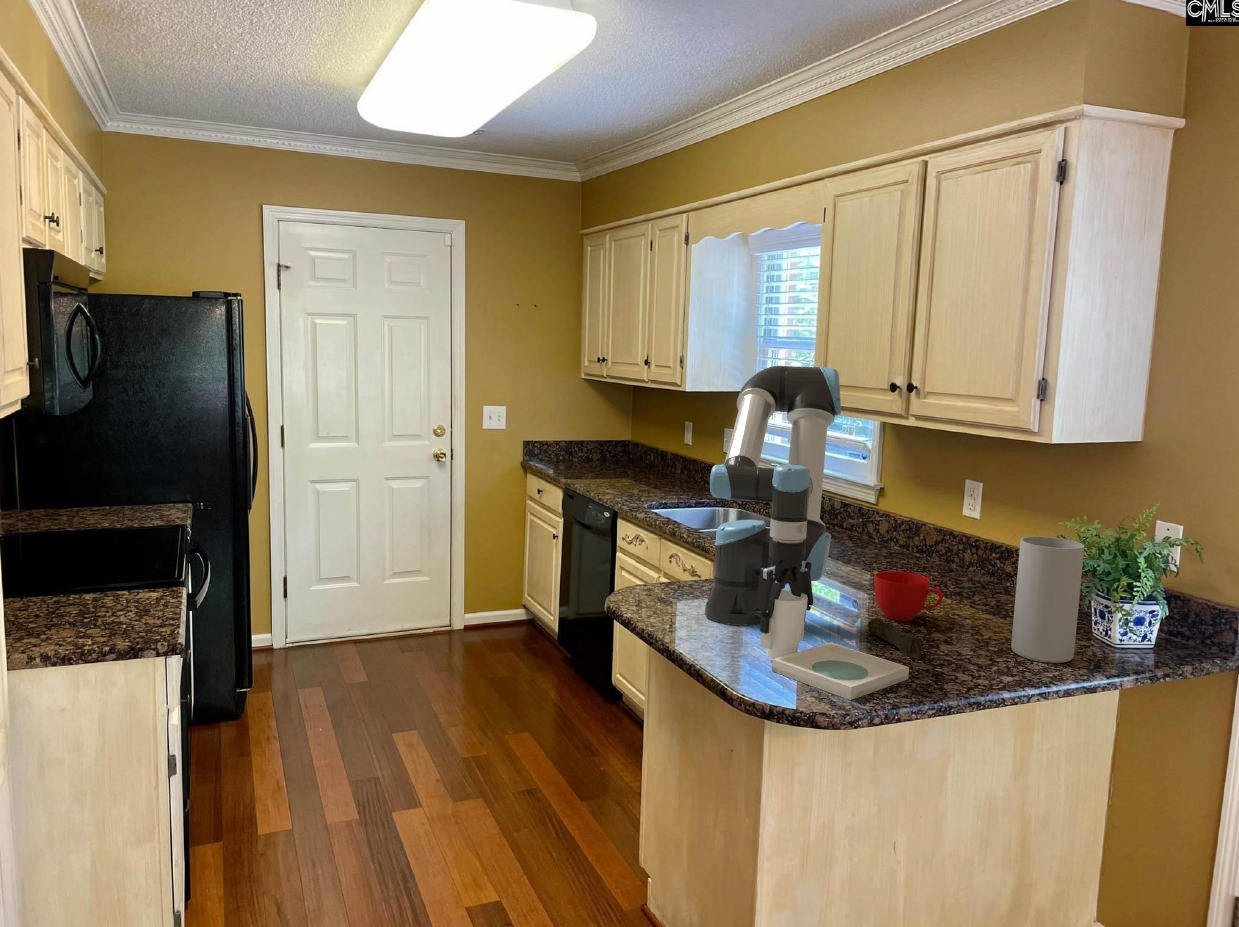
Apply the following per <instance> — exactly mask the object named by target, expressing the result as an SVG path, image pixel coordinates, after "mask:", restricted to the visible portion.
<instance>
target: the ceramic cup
mask: <svg viewBox="0 0 1239 927" xmlns="http://www.w3.org/2000/svg"><path fill="white" fill-rule="evenodd" d="M873 580H874V583H873V584H874V595H875V600H876V604H877V605H878V607H879V608H880V610H881V612H882V613H883V614H884V616H885V617H886V618H887V619H890V620H893V621H901V622H907V621H913V620H914V618H915V617H917V616H918V615H919V613H920V612H921V611H924V610H929V609H930V610H931V609H934V608H936V607H938V606H939V605H941V604H942V601H943V599H944V594H943V592H942V591H941V590H940V589H938V588H934V587H932V588H930V585H931V584H930V583H931V581H930V580H931V579H929V577H926V576H924V575H922V574H918V573H914V572H913V573H912V572H907V571H899V570H898V571H897V570H889V571H887V570H886V571H879V572H876V573H875V574H874V579H873ZM932 592H934V593H936V594H938V600H937V602H936V603H934V604H931V605H926V603H927V599H928V595H929V594H931V593H932Z"/></svg>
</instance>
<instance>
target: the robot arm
mask: <svg viewBox="0 0 1239 927" xmlns="http://www.w3.org/2000/svg"><path fill="white" fill-rule="evenodd" d="M840 387H841V385H840V375H839V371H837V370H836V369H835V368H832V367H823V366H793V365H791V366H789V365H787V366H786V365H774V366H769V367H767V368H766V367H765V368H764V369H762V370H760V371H758V372H757V373H755V374H754V375H752V376H751V377H750V378H749V379H748V380H747V381H746V382H745V383H744V385H743V386H742V387H741V389H740V391H739V392H738V396H737V399H736V408H737V410H738V412H737V416H736V419H735V422H734V427H733V430H732V434H731V438H730V441H729V446H728V447H727V448H728V449H727V452H726V456H725V460H724V463H722V464H715V465H714V466H712V468H711V472H710V476H709V490H710V494H711V496H712V497H714V498H716V499H717V498H718V499H724V500H727V501H730V500H732V501H748V502H761V503H762V502H763V503H771V515H770V522H769V523H770V526H769V527H770V528H769V527H767V524H766V521H764V520H761V519H759V520H757V519H740V520H732V521H728V522H724V523H722V524H720V525H719V526H718V527H717V529H716V531H715V532H716V533H715V535H716V536H715V542H714V566H713V567H714V569H713V583H712V584H713V585H712V587H711V589H710V592H709V595H708V597H707V601H706V603H705V607H704V615H705V617H706V618H707V619H709V620H711V621H713V622H717V623H720V624H724V625H734V626H753V625H754V626H755V625H759V624H760V626H759V632H760V645H759V646H760V647H761V648H765V649H766V648H767V649H770V650H771V649H773V633H774V618H771V617H772V614H773V612H774V607H775V600H776V599H778V598H779V596H780V593H781V590H785V588H786V586H787V584H788V586H789V590H791V593H792V595H794V596H797V597H801V594H802V593H803V594H805V595H807V609H806V611H805V616H804V621H803V626H802V631H801V636H800V641H799V642H803V641H804V637H805V636H804V635H805V634H804V632H805V623H806V614H807V612H808V611H810V610H811V609H812V606H813V605H814V595H813V594H814V593H813V586H812V582H819V581H820V580H821V579H822V578H823V576H824V573H825V569H826V566H827V562H828V558H829V553H830V545H831V541H832V535H831V533H829V532H827V531H826V524H825V523H824V522H823V521H822V520H821V509H822V508H821V506H822V497H823V496H822V495H823V494H822V493H823V483H824V471H825V459H826V446H827V436H828V427H830V426H831V425H833V424H834V423H835V418H836V417H837V416H841V414H842V407H841V406H842V405H841V388H840ZM774 413H786V419H787V421H788V422H789V423H790V424H791V432H790V443H789V454H788V462H787V463H788V464H779V465H776V466H775V467H774V468H773V467H761V466H759V464H760V461H761V455H762V451H763V447H764V443H765V437H766V433H767V429H768V424H769V420H770V418H771V417H772V416H773V415H774ZM767 611H768V612H767Z"/></svg>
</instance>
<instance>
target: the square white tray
mask: <svg viewBox="0 0 1239 927" xmlns="http://www.w3.org/2000/svg"><path fill="white" fill-rule="evenodd" d="M771 660H772V661H771V662H772V663H771V672H773V673H776V674H779V675H781V676H784V677H787V678H789V679H792V680H795V681H798V682H800V683H803V684H806V685H809V686H811V687H814V688H817V689H819V690H822V691H824V692H827V693H829V694H833V695H836V696H837V697H841V698H843V699H845V700H849V701H852V700H855V699H858V698H859V697H863V696H866V695H868V694H871V693H874V692H877V691H881V690H883V689H885V688H888V687H890V686H893V685H897V684H900V683H902V682H904V681H906V680H909V673H910V672H909V671H910V666H906V665H903V664H900V663H897V662H894V661H891V660H887V659H885V658H882V657H878V656H875V655H872V654H869V653H866V652H862V651H860V650H856V649H853V648H851V647H847V646H843V645H841V644H837V643H835V642H832V641H830V642H827V643H823V644H821V645H817V646H813V647H809V648H806V649H804V650H800V651H797V652H795V653H792V654H789V655H785V656H782V657H778V658H775V659H774V658H772V659H771Z"/></svg>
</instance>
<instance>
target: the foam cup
mask: <svg viewBox="0 0 1239 927" xmlns="http://www.w3.org/2000/svg"><path fill="white" fill-rule="evenodd" d="M807 599H808V598H807V595H805V594H803V593H802V594H801V597H797V596H794V595H792V593H791V590H790V589H782V590H781V593H780V596H779V598H778V599H776V600H775V607H774V612H773V614H772V617H771V618H774V633H773V649H771V650H770V649H767V648H765V649H766V650H765V652H766V655H767V656H768V657H769V658H772V659H775V658H778V657H782V656H785V655H789V654H792V653H795V652H799V651H798V650H799V645H800V642H801V641H800V636H801V631H802V626H803V621H804V616H805V611H806V612H807V610H806V609H807ZM767 612H768V611H767Z"/></svg>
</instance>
